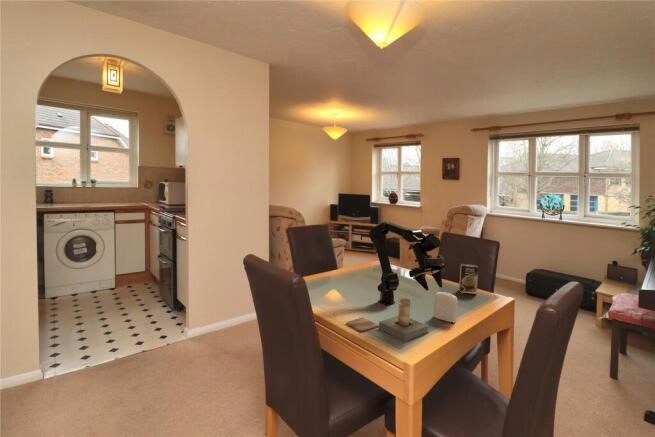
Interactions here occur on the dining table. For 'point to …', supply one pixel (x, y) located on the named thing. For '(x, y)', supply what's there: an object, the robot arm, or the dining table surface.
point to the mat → (362, 324)
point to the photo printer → (445, 306)
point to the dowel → (404, 312)
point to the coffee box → (468, 278)
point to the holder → (403, 328)
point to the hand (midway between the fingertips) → (434, 288)
